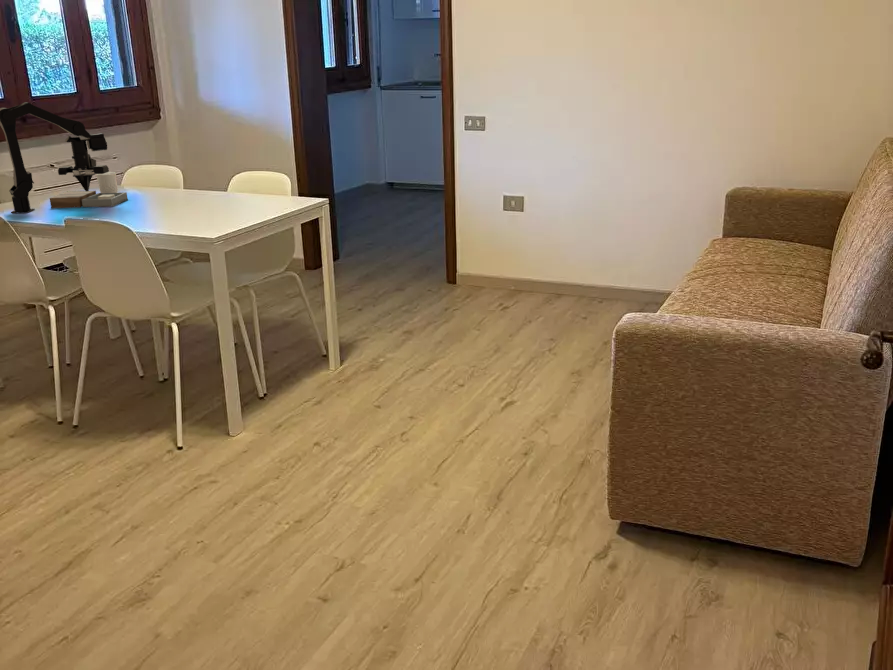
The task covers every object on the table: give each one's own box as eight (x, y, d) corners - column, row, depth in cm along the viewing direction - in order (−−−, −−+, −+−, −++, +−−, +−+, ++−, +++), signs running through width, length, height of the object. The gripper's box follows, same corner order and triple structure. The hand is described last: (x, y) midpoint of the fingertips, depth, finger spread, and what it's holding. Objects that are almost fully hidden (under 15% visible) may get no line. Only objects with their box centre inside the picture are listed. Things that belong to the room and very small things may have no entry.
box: (112, 206, 333) (111, 199, 332) (82, 207, 334) (81, 199, 333) (127, 199, 348) (126, 192, 347) (99, 200, 349) (98, 192, 348)
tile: (97, 196, 339) (98, 202, 340) (109, 196, 339) (110, 202, 339) (102, 194, 343) (103, 200, 344) (114, 194, 343) (115, 200, 344)
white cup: (119, 197, 354) (115, 173, 351) (100, 199, 351) (96, 175, 348) (119, 194, 361) (115, 171, 358) (100, 196, 358) (96, 172, 355)
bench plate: (80, 207, 334) (78, 197, 332) (51, 207, 334) (49, 198, 333) (97, 200, 349) (95, 190, 347) (69, 200, 349) (67, 191, 348)
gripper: (111, 149, 342) (117, 187, 347) (66, 150, 342) (73, 188, 348) (99, 153, 331) (106, 191, 336) (54, 154, 332) (61, 193, 337)
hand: (87, 191), depth 340 cm, fingers closed
